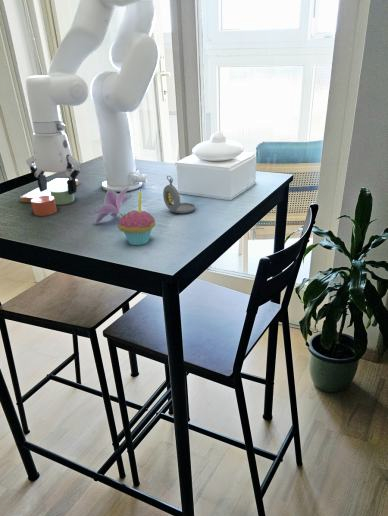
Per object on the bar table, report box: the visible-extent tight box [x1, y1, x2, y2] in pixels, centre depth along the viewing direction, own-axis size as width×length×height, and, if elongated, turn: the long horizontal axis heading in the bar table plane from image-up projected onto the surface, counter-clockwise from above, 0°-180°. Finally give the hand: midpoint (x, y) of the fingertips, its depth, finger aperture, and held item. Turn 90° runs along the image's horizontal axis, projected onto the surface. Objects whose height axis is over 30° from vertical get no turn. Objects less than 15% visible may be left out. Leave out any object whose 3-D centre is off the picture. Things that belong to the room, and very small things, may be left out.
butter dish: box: [174, 131, 257, 201], centre depth 141 cm, size 18×18×16 cm
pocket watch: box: [162, 175, 196, 214], centre depth 127 cm, size 8×8×10 cm
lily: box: [94, 187, 132, 225], centre depth 122 cm, size 12×12×10 cm
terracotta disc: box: [30, 196, 58, 217], centre depth 133 cm, size 6×6×4 cm
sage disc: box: [50, 186, 75, 206], centre depth 140 cm, size 6×6×4 cm
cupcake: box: [118, 188, 156, 246], centre depth 110 cm, size 9×8×12 cm
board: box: [19, 177, 80, 204], centre depth 148 cm, size 8×20×2 cm, turn 161°
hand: (58, 191), depth 139 cm, fingers open, 9 cm apart
